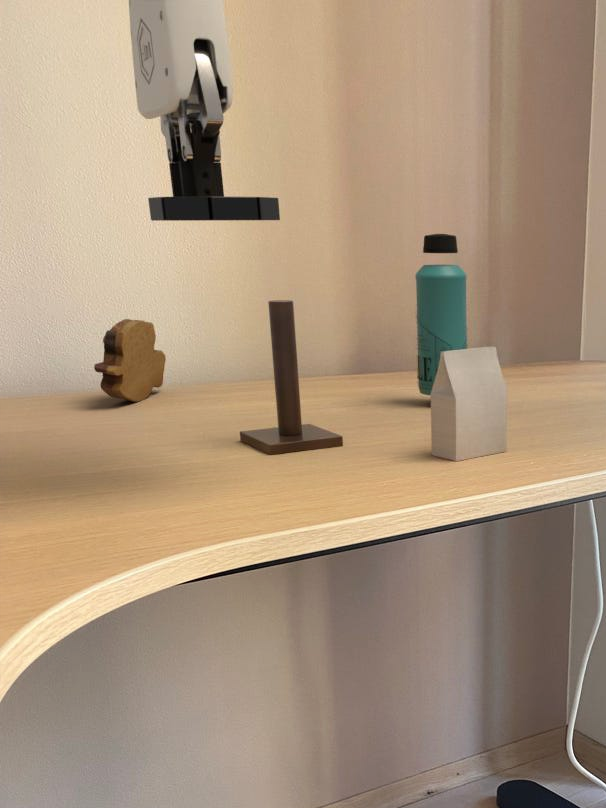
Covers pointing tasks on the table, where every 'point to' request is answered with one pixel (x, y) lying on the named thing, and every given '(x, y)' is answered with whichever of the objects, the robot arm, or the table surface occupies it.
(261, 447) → the post
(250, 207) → the ring
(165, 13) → the robot arm
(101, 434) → the table surface
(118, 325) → the wooden carving
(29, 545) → the table surface
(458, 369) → the grey gabled box
